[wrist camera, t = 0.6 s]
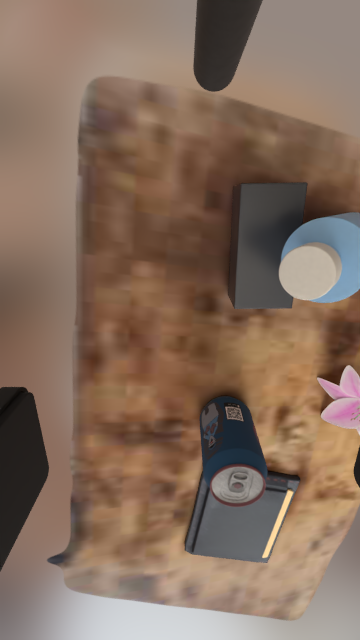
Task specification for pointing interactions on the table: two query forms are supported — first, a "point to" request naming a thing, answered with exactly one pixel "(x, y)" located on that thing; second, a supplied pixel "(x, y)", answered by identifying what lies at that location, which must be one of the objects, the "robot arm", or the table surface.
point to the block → (262, 241)
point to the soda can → (231, 453)
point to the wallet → (240, 522)
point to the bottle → (323, 259)
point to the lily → (343, 400)
